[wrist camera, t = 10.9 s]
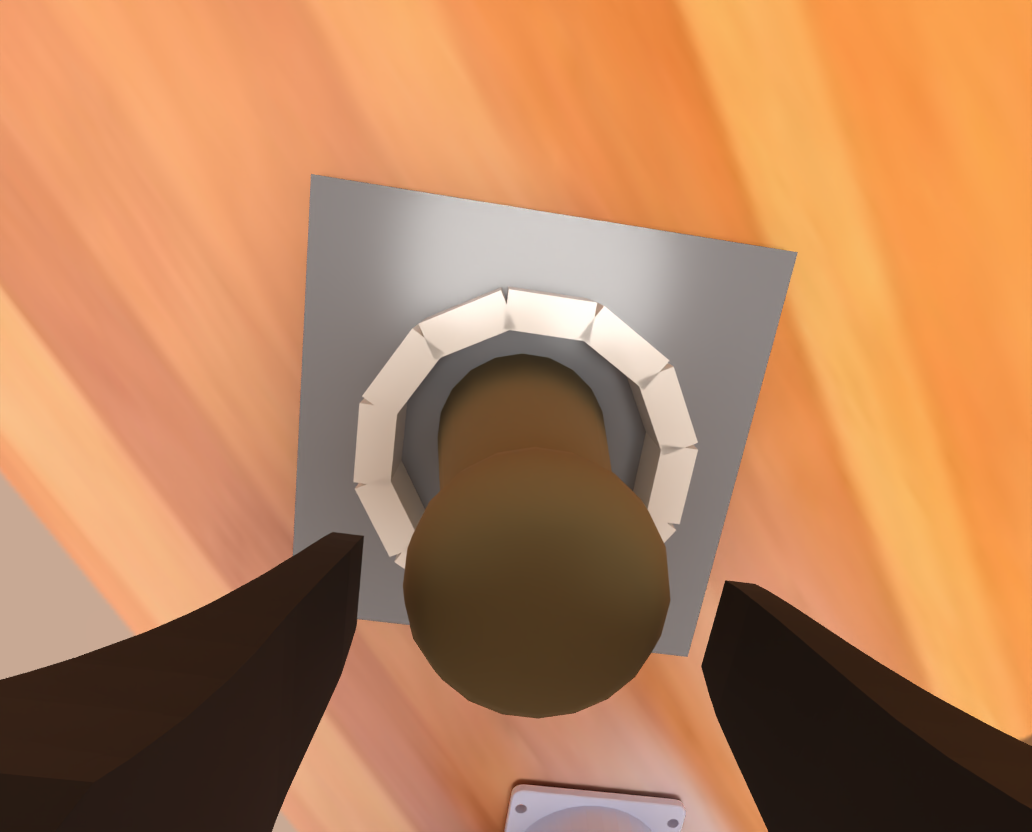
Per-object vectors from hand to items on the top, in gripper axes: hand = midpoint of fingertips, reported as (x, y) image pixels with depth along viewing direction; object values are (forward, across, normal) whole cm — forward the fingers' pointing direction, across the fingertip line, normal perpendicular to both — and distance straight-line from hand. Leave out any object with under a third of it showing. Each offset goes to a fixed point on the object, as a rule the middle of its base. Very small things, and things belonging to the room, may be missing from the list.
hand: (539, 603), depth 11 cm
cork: (+10, 0, 0) cm, 10 cm away
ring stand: (+10, 0, 0) cm, 10 cm away
